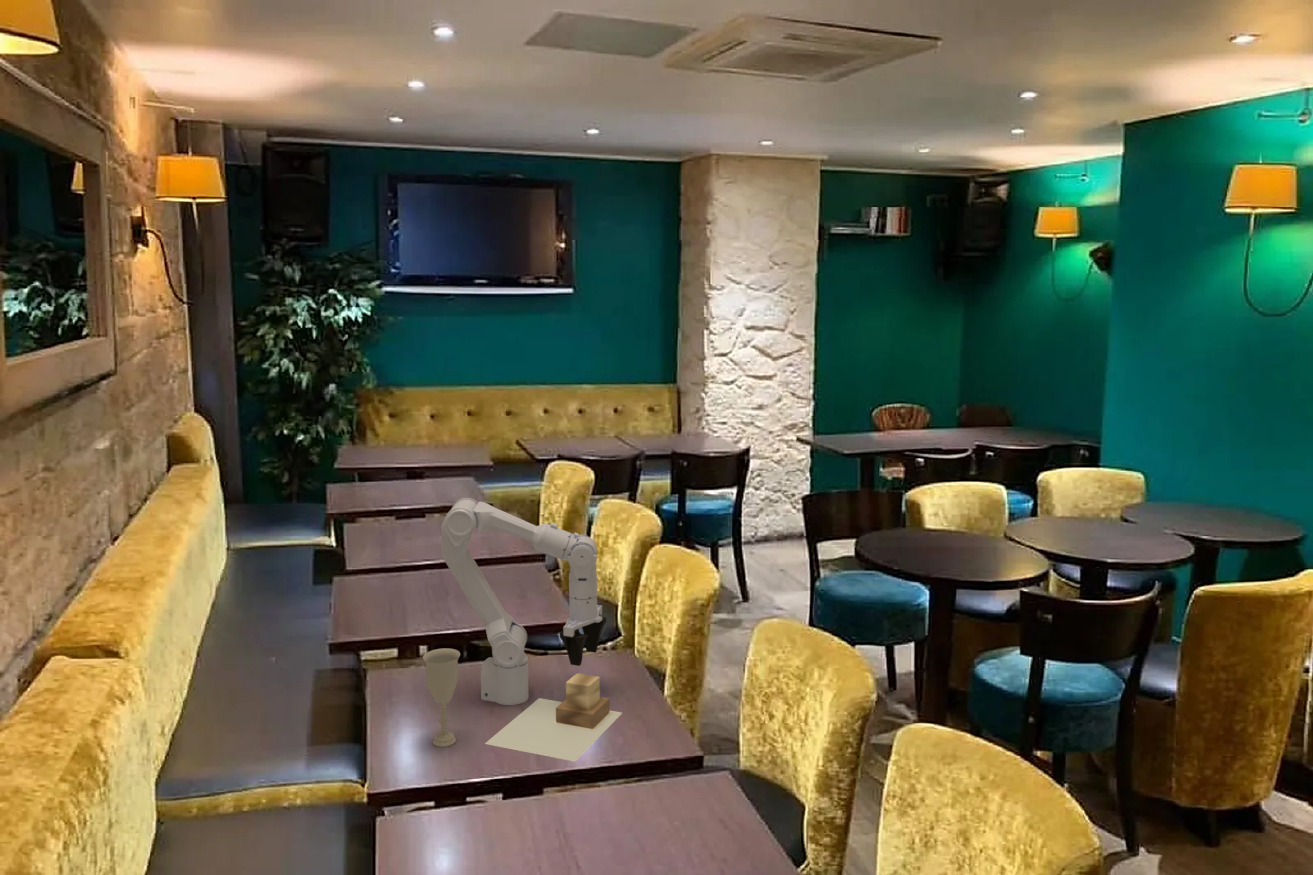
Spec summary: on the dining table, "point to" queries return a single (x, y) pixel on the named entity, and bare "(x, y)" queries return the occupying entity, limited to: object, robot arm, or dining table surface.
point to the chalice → (442, 686)
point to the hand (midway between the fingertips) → (583, 658)
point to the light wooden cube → (583, 691)
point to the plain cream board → (549, 732)
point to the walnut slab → (582, 714)
